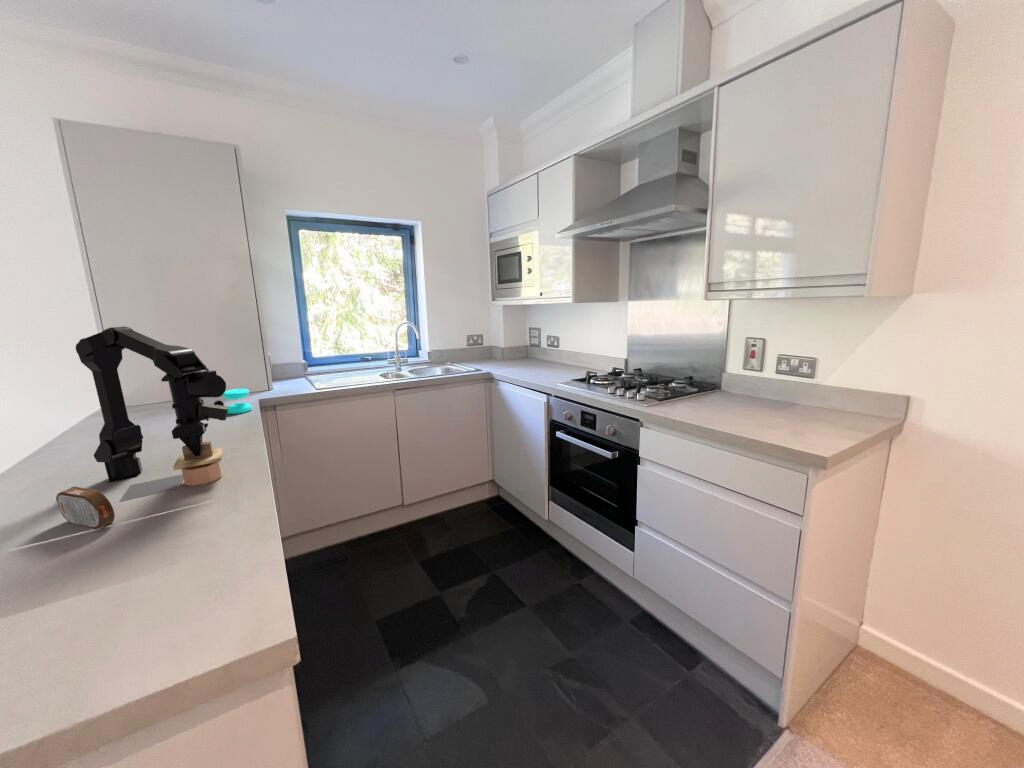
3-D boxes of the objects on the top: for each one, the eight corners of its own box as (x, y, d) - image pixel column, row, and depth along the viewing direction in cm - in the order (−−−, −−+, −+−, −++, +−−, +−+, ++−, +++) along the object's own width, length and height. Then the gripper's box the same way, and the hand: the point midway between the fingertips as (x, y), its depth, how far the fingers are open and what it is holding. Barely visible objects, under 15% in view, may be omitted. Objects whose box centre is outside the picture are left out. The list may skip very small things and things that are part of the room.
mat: (119, 503, 104) (118, 502, 103) (130, 486, 114) (130, 485, 114) (180, 489, 110) (179, 488, 109) (186, 474, 120) (185, 473, 120)
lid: (173, 470, 107) (169, 454, 106) (179, 458, 115) (175, 443, 114) (221, 460, 112) (217, 445, 111) (223, 450, 120) (220, 435, 119)
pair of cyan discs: (237, 392, 185) (216, 393, 186) (241, 414, 187) (221, 415, 188) (253, 387, 194) (234, 388, 196) (257, 408, 196) (238, 409, 198)
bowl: (184, 490, 109) (180, 472, 108) (188, 480, 116) (184, 463, 115) (221, 482, 113) (217, 464, 112) (223, 472, 120) (219, 455, 119)
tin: (119, 525, 93) (110, 489, 91) (102, 533, 90) (91, 496, 88) (78, 517, 98) (68, 483, 96) (60, 524, 95) (49, 489, 93)
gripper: (221, 398, 106) (233, 457, 109) (225, 387, 122) (235, 438, 125) (165, 406, 100) (179, 468, 104) (176, 393, 116) (188, 447, 119)
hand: (198, 454), depth 113 cm, fingers closed on lid, 2 cm apart
